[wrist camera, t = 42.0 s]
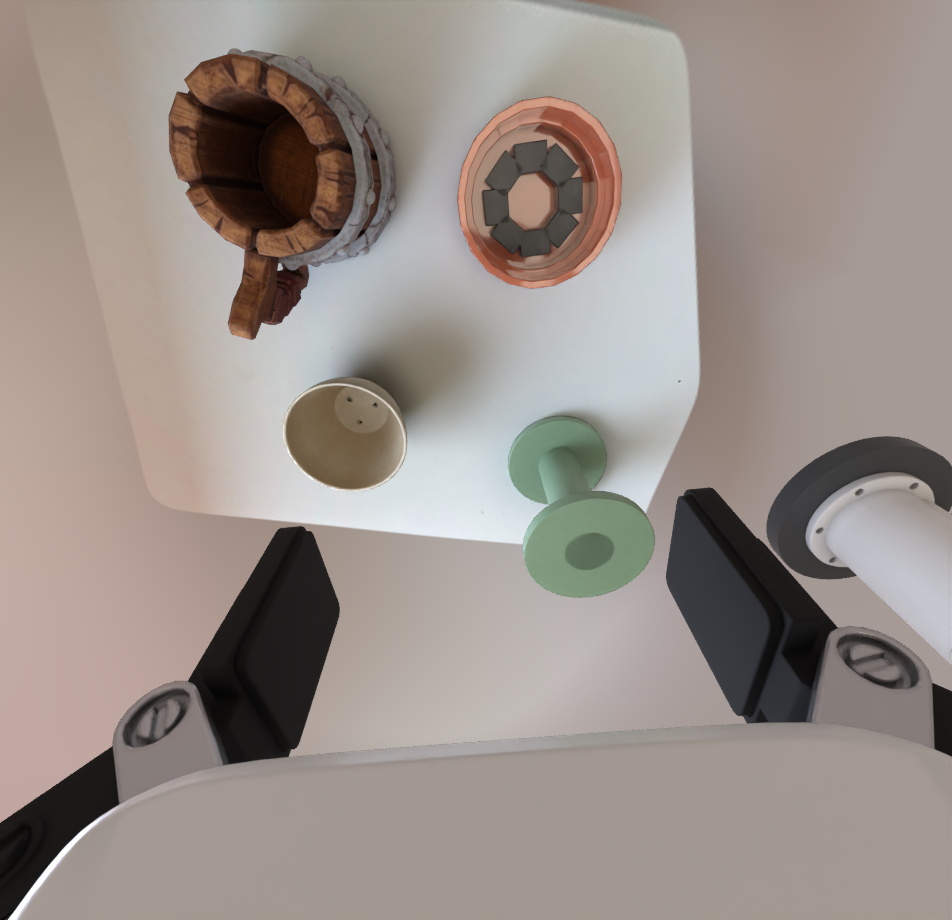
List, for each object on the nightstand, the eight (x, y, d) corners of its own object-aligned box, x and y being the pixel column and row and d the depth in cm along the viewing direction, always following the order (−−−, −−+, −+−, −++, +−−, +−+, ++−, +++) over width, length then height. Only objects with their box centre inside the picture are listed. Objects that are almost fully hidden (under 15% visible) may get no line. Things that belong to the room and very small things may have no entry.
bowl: (603, 101, 31) (625, 84, 27) (600, 268, 37) (618, 277, 32) (448, 123, 32) (446, 111, 27) (468, 286, 37) (469, 297, 33)
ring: (577, 137, 32) (582, 134, 30) (577, 247, 35) (582, 249, 34) (477, 151, 32) (478, 149, 30) (488, 259, 36) (489, 262, 34)
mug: (420, 96, 30) (377, 98, 19) (384, 294, 39) (340, 377, 28) (244, 24, 28) (75, -21, 17) (247, 250, 37) (138, 321, 26)
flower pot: (433, 427, 44) (428, 464, 37) (348, 466, 46) (330, 507, 39) (379, 336, 39) (363, 361, 33) (287, 384, 41) (255, 416, 35)
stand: (605, 410, 43) (661, 490, 31) (603, 493, 48) (650, 591, 36) (503, 422, 44) (519, 506, 31) (511, 504, 49) (528, 603, 36)
